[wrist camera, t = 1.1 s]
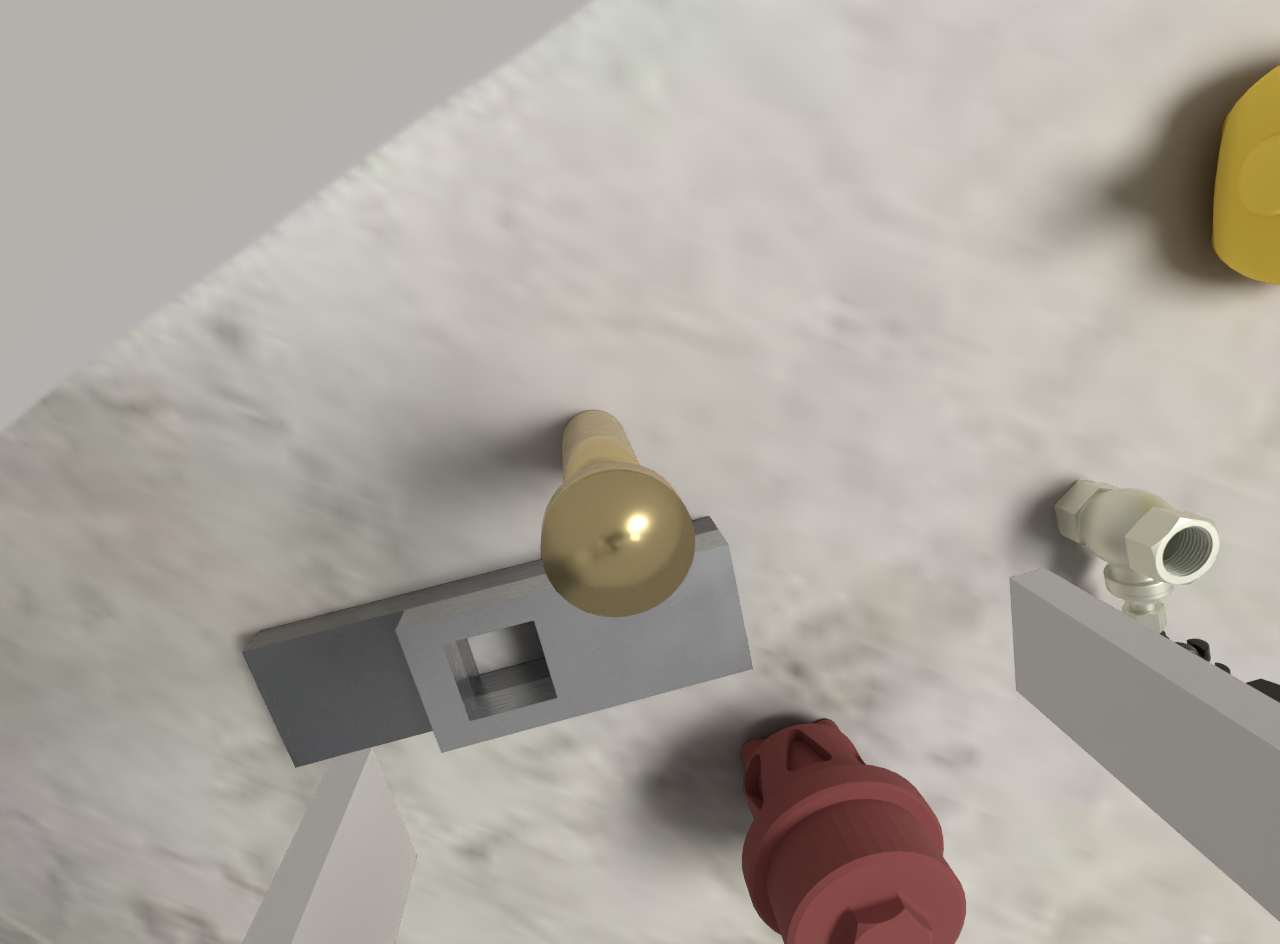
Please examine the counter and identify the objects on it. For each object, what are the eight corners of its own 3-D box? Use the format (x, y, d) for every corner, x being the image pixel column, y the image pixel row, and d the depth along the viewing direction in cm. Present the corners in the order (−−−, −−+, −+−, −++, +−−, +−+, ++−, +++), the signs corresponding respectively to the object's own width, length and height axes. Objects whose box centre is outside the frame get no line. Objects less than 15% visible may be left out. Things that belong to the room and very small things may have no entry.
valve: (1022, 498, 37) (1059, 666, 40) (1118, 541, 30) (1151, 736, 34) (1129, 454, 37) (1156, 626, 40) (1246, 488, 31) (1267, 688, 34)
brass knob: (561, 494, 33) (562, 633, 20) (537, 408, 32) (522, 494, 18) (647, 472, 34) (708, 595, 20) (627, 386, 32) (678, 455, 19)
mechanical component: (837, 832, 42) (690, 811, 40) (893, 698, 39) (740, 669, 37) (947, 1046, 30) (746, 1030, 28) (1037, 873, 27) (824, 843, 26)
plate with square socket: (309, 741, 35) (279, 796, 32) (260, 631, 33) (221, 675, 30) (732, 629, 37) (752, 668, 33) (709, 516, 35) (728, 544, 31)
